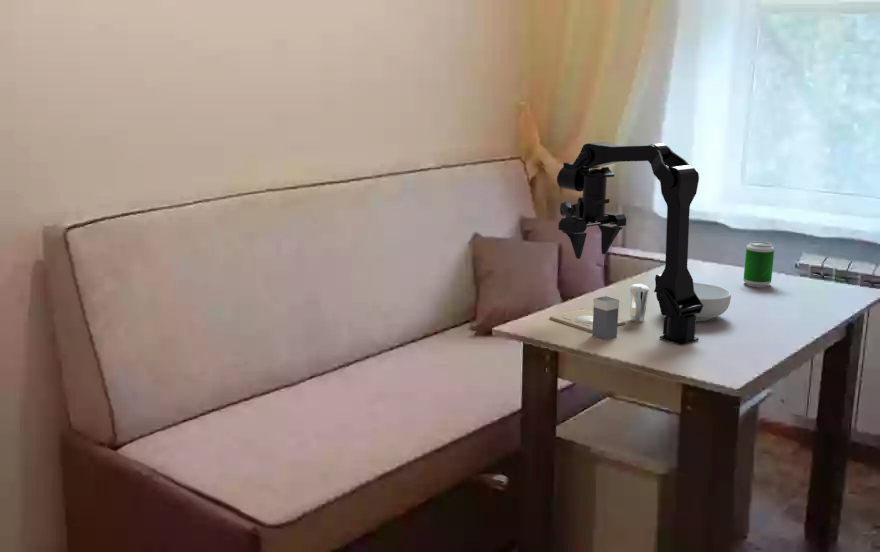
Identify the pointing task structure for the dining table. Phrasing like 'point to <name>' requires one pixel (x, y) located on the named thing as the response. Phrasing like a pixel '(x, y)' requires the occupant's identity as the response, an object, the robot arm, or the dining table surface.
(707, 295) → the cereal bowl
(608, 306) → the grey and white block
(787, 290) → the dining table surface
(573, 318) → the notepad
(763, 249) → the soda can
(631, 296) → the milkshake
